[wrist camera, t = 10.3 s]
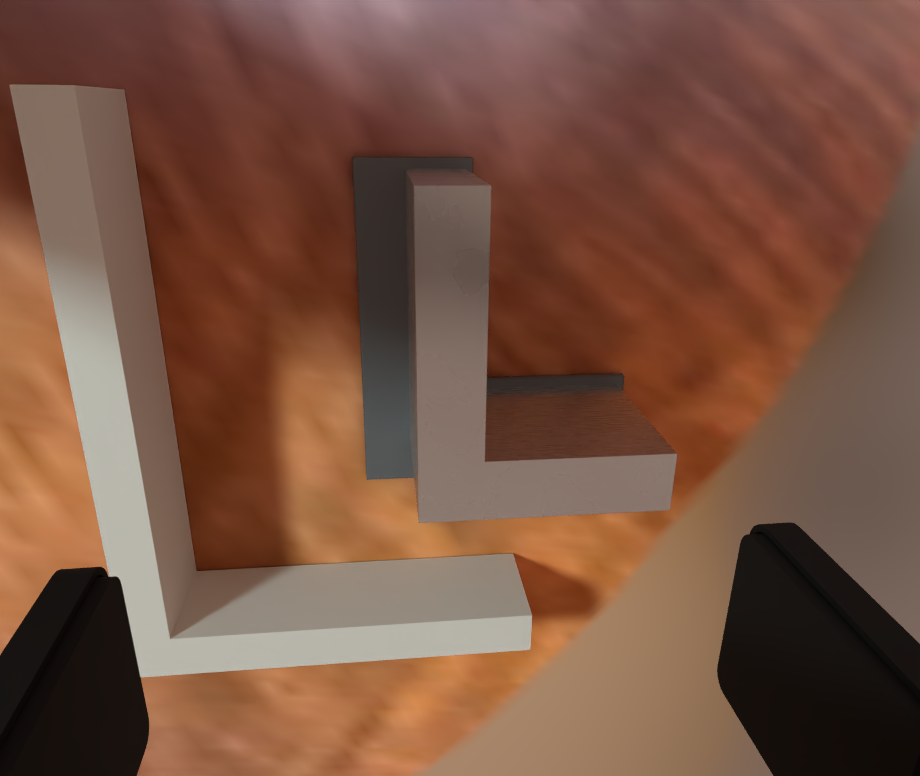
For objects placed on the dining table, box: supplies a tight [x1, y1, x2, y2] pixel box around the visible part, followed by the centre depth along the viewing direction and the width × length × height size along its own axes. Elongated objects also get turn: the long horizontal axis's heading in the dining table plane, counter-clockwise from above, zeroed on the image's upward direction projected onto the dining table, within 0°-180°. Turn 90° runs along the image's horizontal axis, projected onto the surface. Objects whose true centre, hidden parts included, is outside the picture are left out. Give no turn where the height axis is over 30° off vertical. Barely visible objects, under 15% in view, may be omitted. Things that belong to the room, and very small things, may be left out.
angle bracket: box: [405, 168, 677, 523], centre depth 23 cm, size 10×8×6 cm
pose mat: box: [353, 157, 624, 480], centre depth 26 cm, size 12×10×1 cm
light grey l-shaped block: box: [9, 84, 532, 677], centre depth 25 cm, size 20×15×4 cm
